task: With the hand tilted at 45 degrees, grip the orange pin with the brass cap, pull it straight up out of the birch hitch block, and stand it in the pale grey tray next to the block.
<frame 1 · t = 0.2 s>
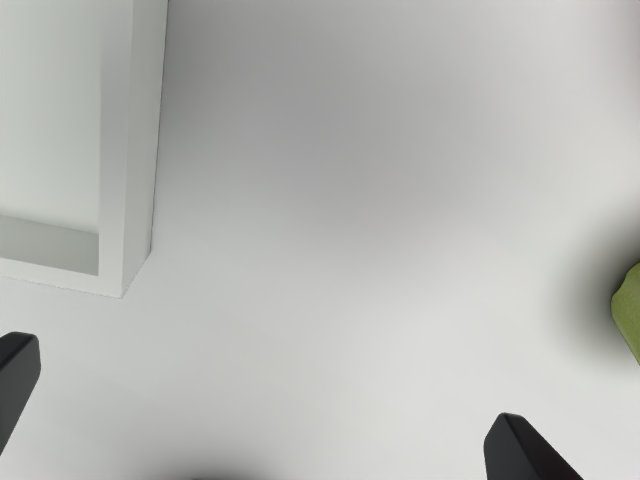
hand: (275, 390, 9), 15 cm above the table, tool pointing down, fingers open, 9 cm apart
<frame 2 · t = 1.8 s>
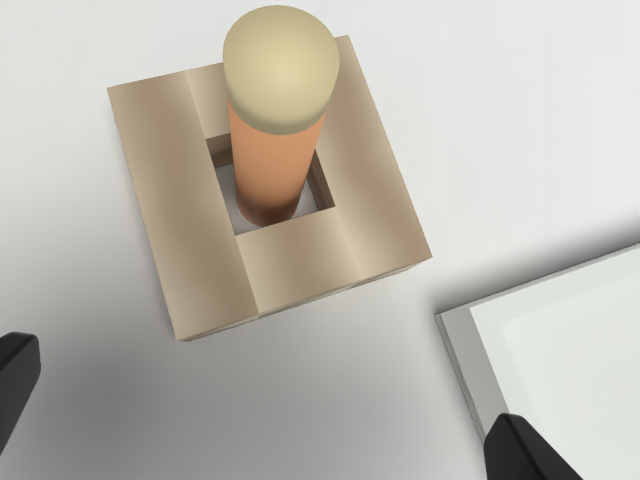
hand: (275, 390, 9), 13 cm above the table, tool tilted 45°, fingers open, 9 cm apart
pin: (272, 149, 18), in the hitch block
tray: (636, 419, 24), on the table
hitch block: (268, 197, 24), on the table
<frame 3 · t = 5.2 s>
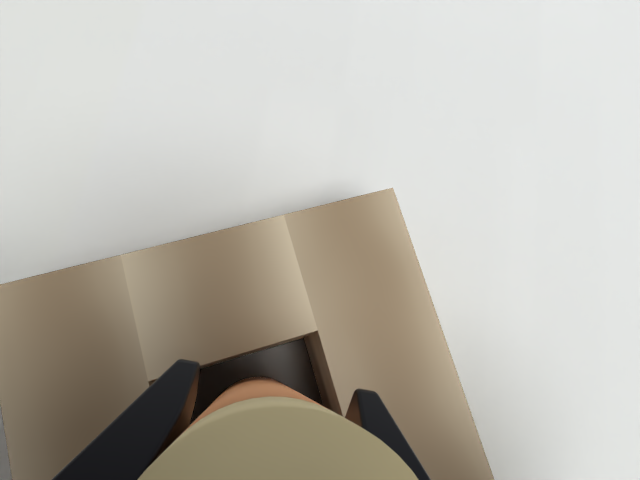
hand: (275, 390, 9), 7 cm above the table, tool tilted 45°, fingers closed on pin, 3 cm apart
pin: (260, 462, 10), in the hitch block, touching gripper
hitch block: (256, 426, 15), on the table
when the fingers open (8 cm above the table, at t = 9.5 s): pin stays where it is, resting on tray.
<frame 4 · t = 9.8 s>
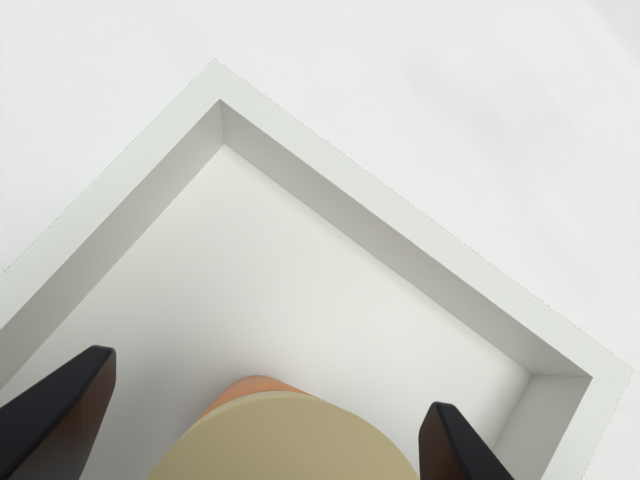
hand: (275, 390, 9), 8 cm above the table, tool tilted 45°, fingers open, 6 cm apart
pin: (262, 456, 10), in the tray, point 7 cm above the table
tray: (256, 421, 17), on the table
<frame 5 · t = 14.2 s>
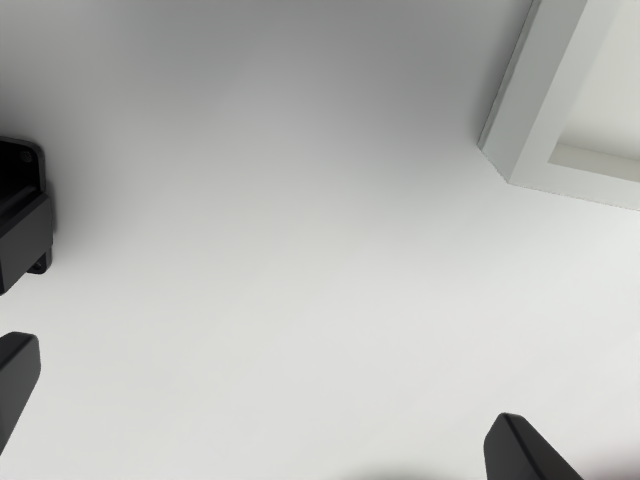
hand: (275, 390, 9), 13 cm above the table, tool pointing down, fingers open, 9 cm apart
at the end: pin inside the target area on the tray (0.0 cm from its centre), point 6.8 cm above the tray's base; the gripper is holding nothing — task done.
